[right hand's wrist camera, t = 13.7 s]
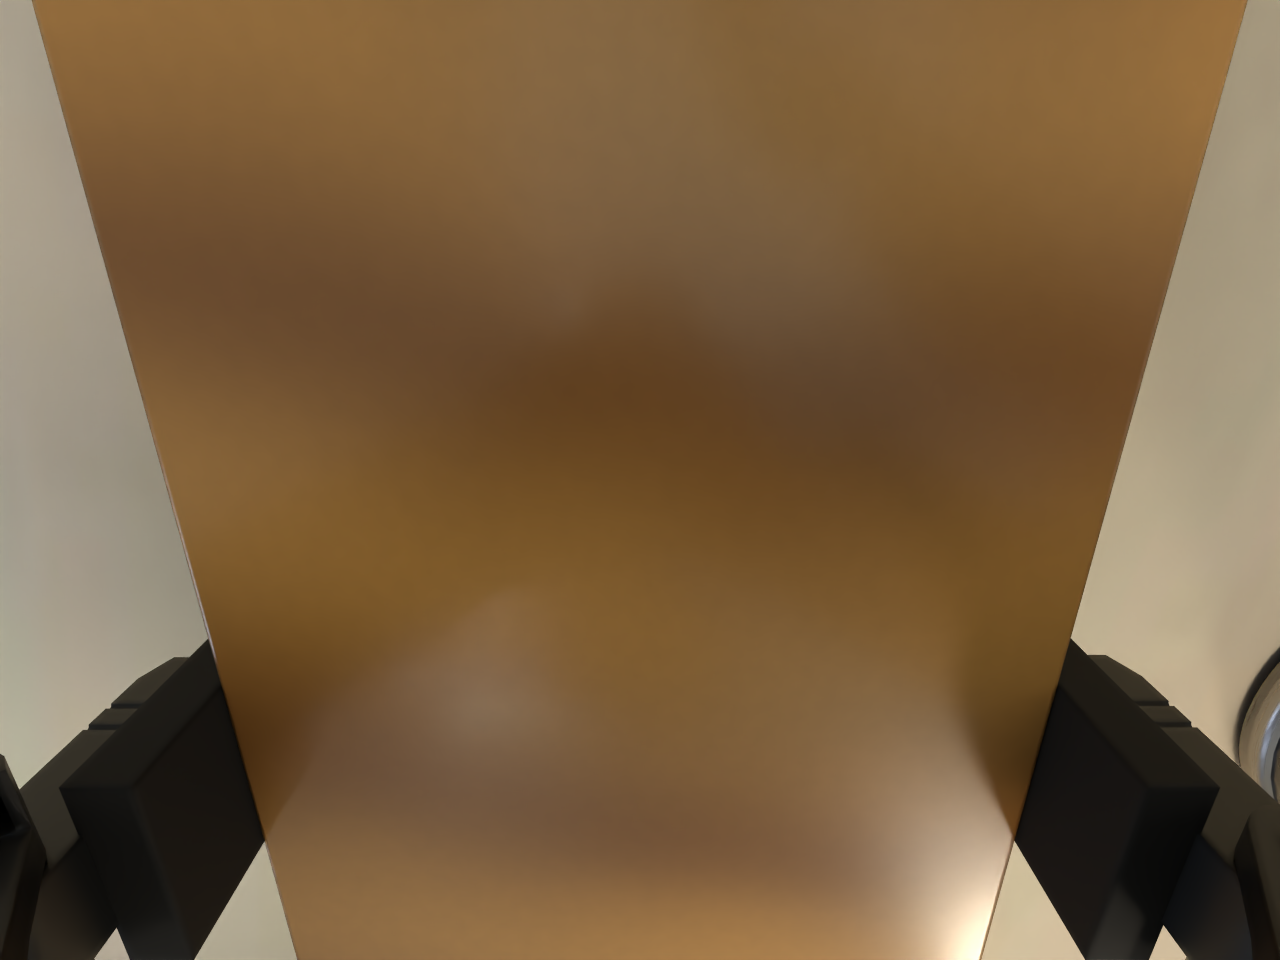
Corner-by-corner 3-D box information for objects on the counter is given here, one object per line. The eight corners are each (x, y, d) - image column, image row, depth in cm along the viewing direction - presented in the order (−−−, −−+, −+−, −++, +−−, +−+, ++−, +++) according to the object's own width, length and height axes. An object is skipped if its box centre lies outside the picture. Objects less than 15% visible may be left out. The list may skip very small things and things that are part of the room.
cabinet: (330, -356, 12) (-500, -1883, 3) (948, -355, 12) (1779, -1873, 3) (451, 640, 19) (301, 982, 11) (827, 640, 19) (977, 983, 11)
